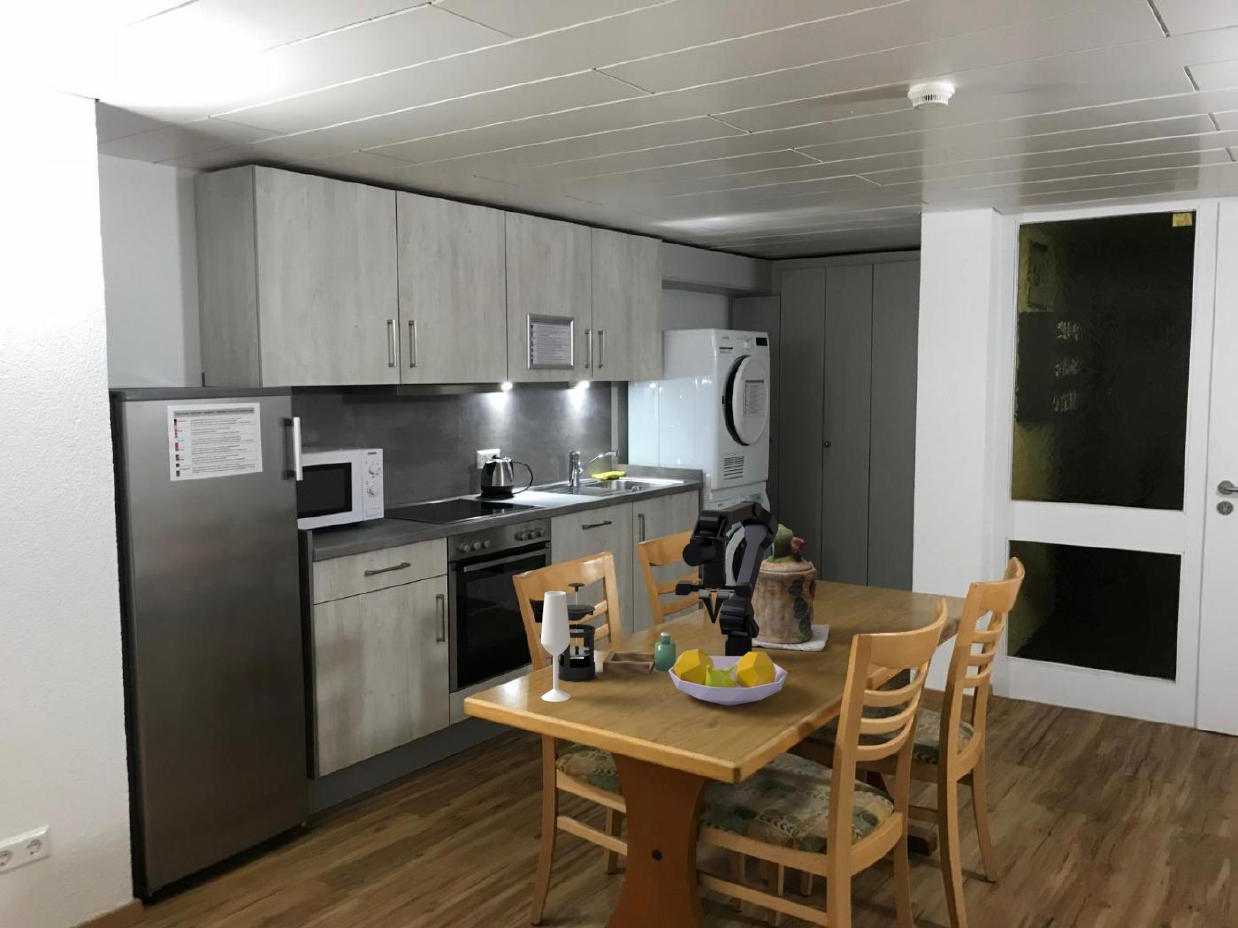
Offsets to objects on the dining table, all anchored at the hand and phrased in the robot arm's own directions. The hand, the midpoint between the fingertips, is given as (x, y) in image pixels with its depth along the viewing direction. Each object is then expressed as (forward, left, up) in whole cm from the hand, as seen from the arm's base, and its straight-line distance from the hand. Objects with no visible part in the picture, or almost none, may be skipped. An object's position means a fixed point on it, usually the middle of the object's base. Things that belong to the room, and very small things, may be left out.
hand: (713, 622), depth 249 cm
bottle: (+12, 0, -12) cm, 17 cm away
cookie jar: (-17, -35, -12) cm, 41 cm away
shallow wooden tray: (+21, 0, -12) cm, 24 cm away
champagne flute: (+34, +27, -12) cm, 45 cm away
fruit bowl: (-4, +21, -12) cm, 25 cm away
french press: (+33, +10, -12) cm, 37 cm away
